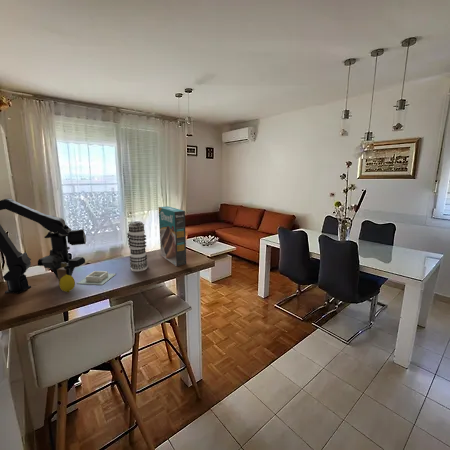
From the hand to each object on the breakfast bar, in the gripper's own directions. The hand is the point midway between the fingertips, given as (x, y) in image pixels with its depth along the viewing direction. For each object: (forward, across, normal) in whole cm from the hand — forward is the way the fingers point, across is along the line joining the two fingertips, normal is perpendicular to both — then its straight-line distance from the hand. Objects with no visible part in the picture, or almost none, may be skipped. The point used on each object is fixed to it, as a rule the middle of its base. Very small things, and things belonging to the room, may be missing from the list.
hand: (64, 279), depth 113 cm
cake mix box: (+2, +40, +36) cm, 54 cm away
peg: (+2, 0, 0) cm, 2 cm away
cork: (+2, -10, +13) cm, 17 cm away
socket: (+2, +12, +6) cm, 14 cm away
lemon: (+2, +8, -8) cm, 11 cm away
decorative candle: (+2, +26, +21) cm, 33 cm away
